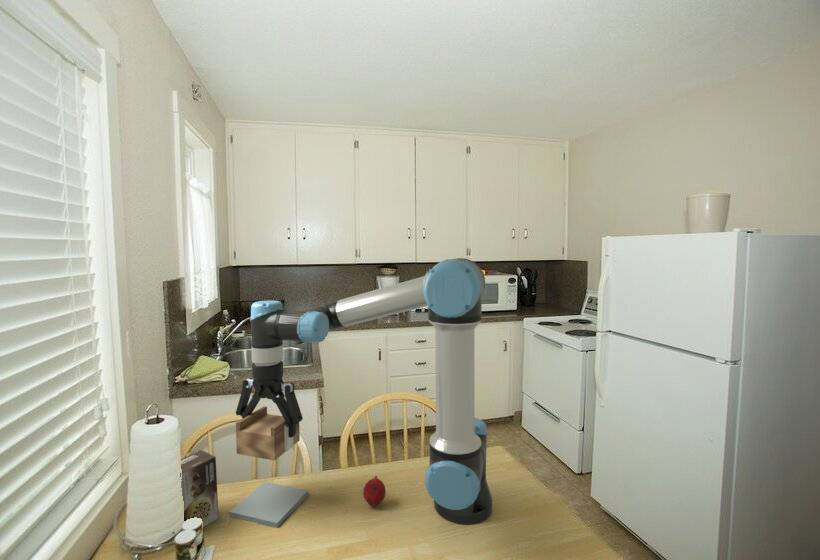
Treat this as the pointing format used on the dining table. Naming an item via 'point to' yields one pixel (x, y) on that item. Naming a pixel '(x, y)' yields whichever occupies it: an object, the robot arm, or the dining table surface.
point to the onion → (374, 491)
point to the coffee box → (199, 487)
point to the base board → (269, 504)
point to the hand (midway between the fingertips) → (269, 445)
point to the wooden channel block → (262, 435)
